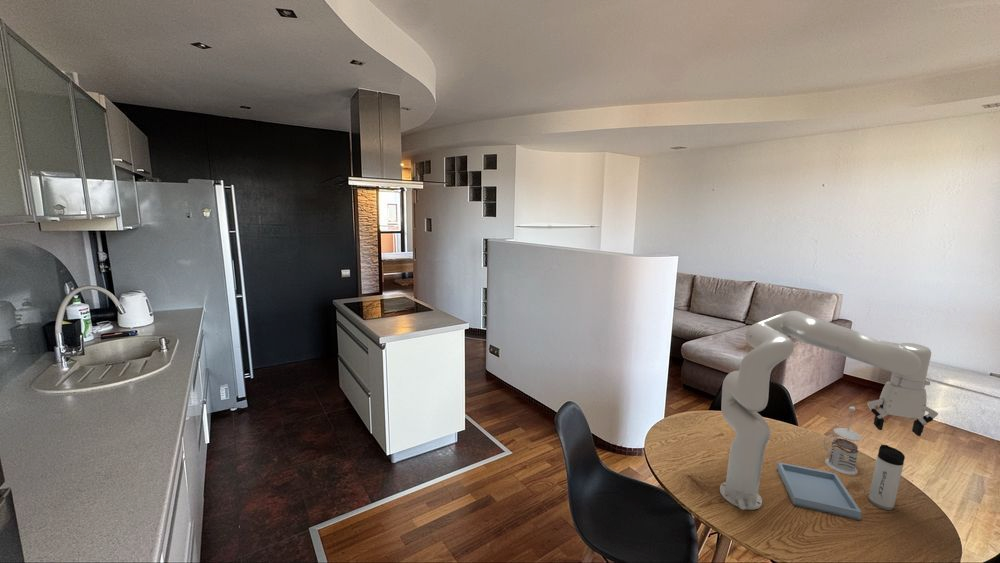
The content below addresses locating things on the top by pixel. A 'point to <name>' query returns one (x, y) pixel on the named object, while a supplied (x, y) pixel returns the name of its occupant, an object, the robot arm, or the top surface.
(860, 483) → the top surface
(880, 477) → the travel mug
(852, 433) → the french press
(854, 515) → the tray
